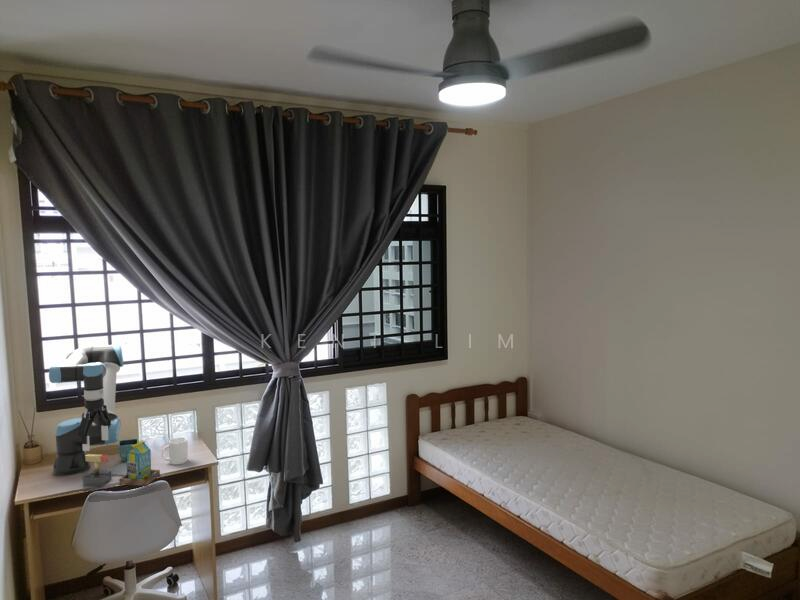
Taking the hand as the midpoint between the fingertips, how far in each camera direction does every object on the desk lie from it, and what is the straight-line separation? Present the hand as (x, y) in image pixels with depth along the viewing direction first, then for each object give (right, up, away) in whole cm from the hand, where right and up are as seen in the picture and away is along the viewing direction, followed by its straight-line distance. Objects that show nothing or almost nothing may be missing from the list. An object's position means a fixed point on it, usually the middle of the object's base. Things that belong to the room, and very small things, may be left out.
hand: (95, 445), depth 247 cm
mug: (+25, -16, +26) cm, 39 cm away
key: (0, -13, +1) cm, 13 cm away
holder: (+17, -17, +6) cm, 25 cm away
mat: (+7, -16, +16) cm, 24 cm away
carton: (+17, -17, +6) cm, 25 cm away
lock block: (0, -17, +2) cm, 17 cm away
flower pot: (+1, -15, +29) cm, 32 cm away
